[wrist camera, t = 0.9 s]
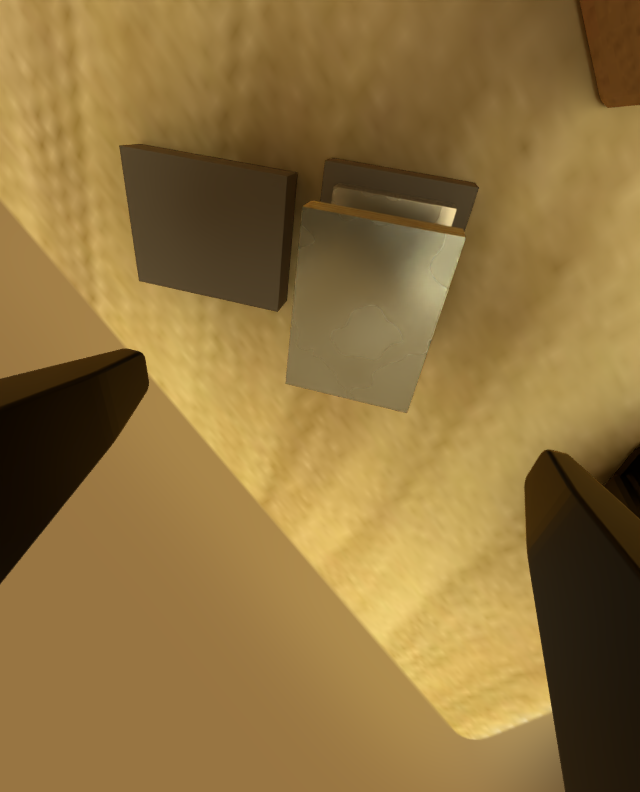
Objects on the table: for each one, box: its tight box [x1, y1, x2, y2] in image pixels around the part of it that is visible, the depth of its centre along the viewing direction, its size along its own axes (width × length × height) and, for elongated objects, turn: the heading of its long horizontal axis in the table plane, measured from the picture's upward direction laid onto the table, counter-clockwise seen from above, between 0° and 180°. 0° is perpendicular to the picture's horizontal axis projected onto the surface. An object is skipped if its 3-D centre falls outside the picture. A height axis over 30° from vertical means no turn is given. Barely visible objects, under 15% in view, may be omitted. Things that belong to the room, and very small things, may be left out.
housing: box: [286, 183, 466, 413], centre depth 15 cm, size 4×6×6 cm
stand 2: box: [320, 158, 479, 232], centre depth 17 cm, size 6×7×2 cm
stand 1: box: [119, 144, 297, 312], centre depth 18 cm, size 7×6×2 cm
